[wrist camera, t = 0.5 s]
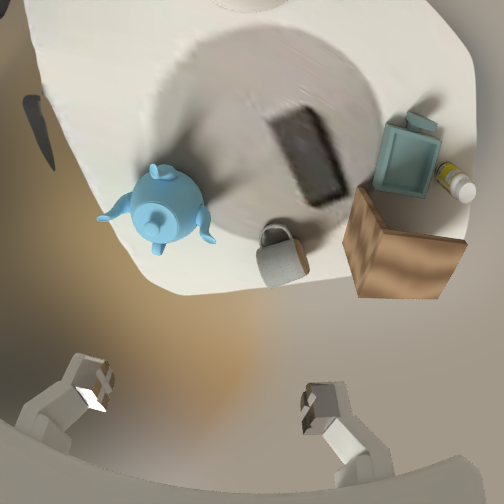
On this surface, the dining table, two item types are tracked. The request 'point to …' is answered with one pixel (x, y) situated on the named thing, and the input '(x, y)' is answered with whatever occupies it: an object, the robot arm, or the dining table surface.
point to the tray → (407, 157)
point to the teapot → (164, 207)
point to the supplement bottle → (455, 182)
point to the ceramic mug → (281, 260)
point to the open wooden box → (396, 256)
